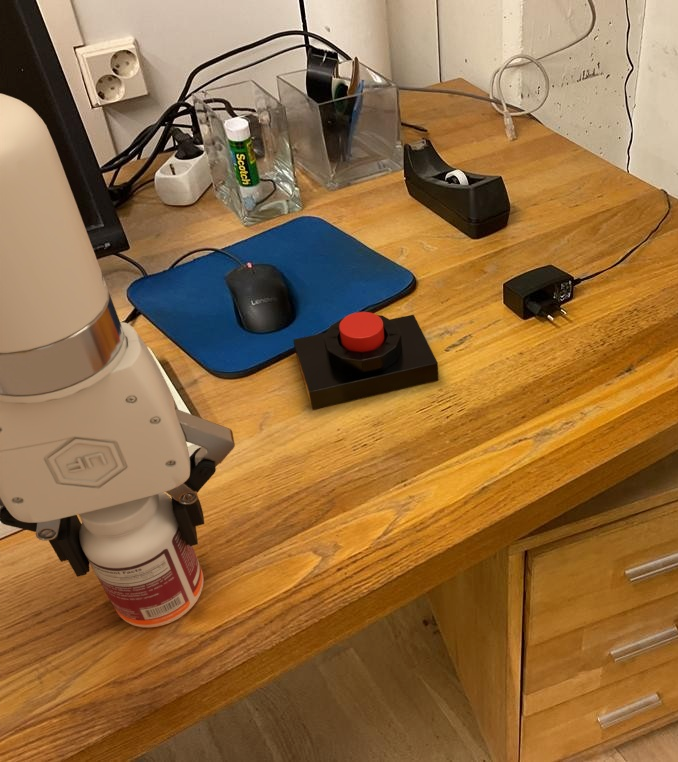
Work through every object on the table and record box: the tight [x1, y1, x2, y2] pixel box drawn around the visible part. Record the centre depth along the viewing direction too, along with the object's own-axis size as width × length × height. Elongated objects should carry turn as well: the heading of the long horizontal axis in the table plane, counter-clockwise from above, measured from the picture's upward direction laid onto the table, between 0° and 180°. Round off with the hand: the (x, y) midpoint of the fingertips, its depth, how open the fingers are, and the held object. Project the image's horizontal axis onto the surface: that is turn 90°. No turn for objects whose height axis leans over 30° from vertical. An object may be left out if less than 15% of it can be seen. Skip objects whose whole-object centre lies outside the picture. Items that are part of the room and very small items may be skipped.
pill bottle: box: [78, 492, 205, 628], centre depth 55 cm, size 6×6×11 cm
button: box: [339, 311, 384, 352], centre depth 75 cm, size 4×4×2 cm
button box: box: [292, 314, 439, 411], centre depth 77 cm, size 12×8×4 cm, turn 111°
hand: (137, 542), depth 55 cm, fingers closed on pill bottle, 6 cm apart
